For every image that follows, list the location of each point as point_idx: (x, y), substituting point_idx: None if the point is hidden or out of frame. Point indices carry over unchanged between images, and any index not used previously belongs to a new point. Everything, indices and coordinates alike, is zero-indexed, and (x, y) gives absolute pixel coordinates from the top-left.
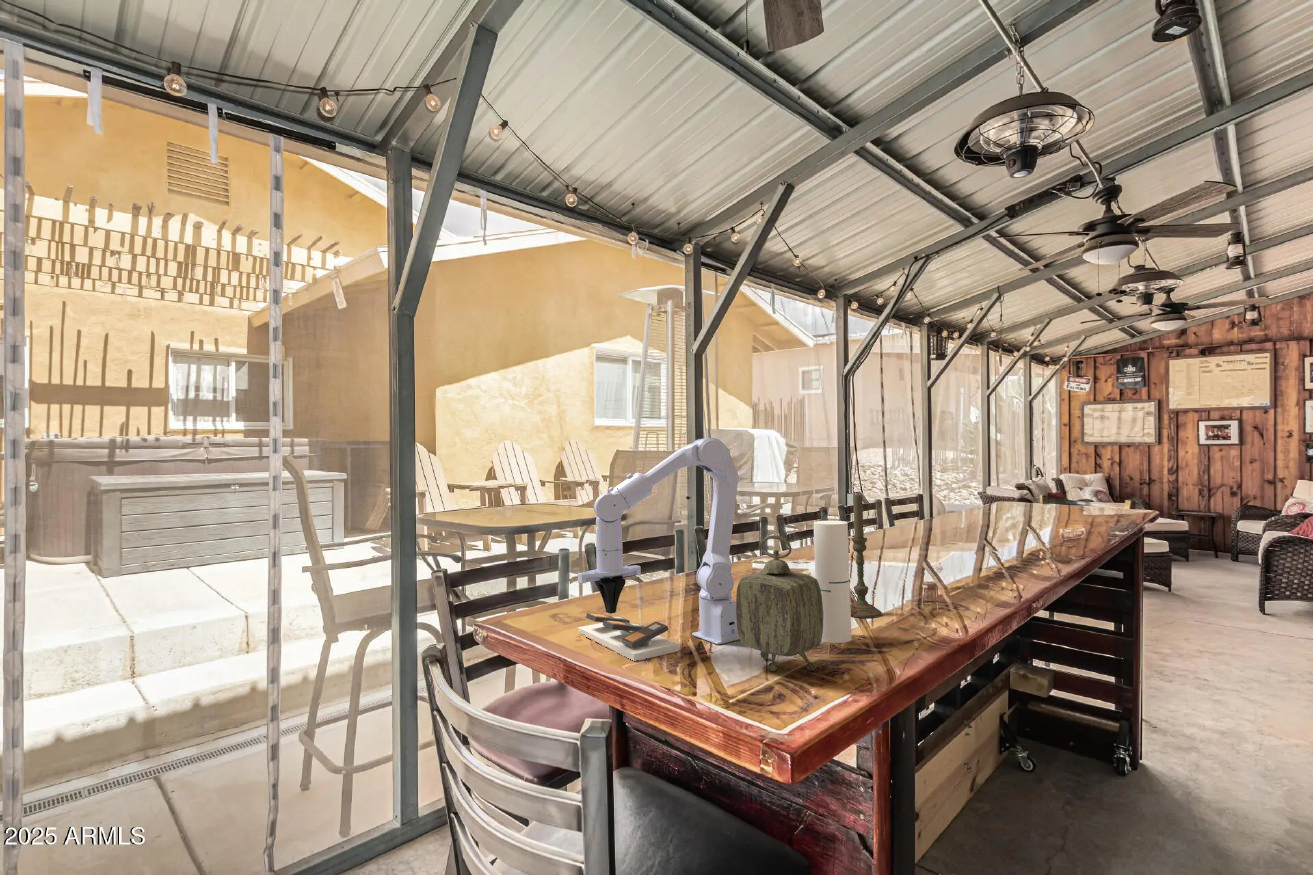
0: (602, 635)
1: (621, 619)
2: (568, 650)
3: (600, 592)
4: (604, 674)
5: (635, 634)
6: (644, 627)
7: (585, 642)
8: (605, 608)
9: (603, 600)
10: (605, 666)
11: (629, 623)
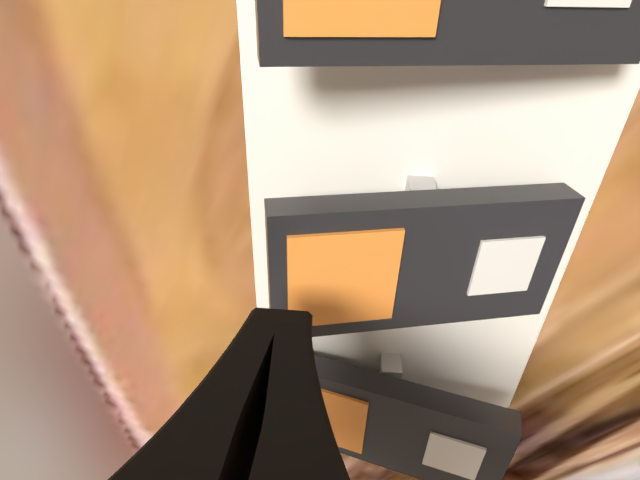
0: (288, 136)
1: (560, 54)
2: (55, 123)
3: (126, 472)
4: (130, 428)
5: (341, 412)
6: (427, 411)
7: (198, 39)
8: (242, 327)
9: (201, 388)
10: (159, 386)
11: (485, 230)
